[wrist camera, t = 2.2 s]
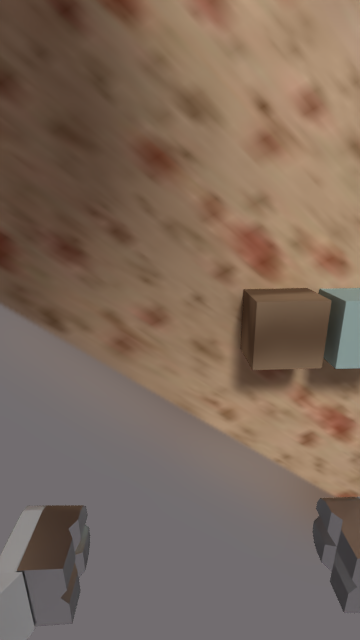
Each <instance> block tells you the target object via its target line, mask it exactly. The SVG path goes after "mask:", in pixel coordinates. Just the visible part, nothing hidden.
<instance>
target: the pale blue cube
mask: <svg viewBox="0 0 360 640" xmlns="http://www.w3.org/2000/svg"><path fill="white" fill-rule="evenodd" d="M319 294H320V295H322V296H324V297H326V298H328V299H330V300H332V301H331V308H330V315H329V322H328V329H327V336H326V343H325V350H324V357H323V358H324V359H325V360H326V361H327V362H328V363H330V364H331V365H332V366H333V367H334V368H335V369H349V368H360V288H339V289H320V290H319Z"/></svg>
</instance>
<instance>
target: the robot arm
mask: <svg viewBox="0 0 360 640" xmlns="http://www.w3.org/2000/svg"><path fill="white" fill-rule="evenodd" d="M316 509H317V511H318V513H319V515H320V516H319V517H318V518H317V519H316V520H315V521H314V524H313V537H314V543H315V546H316V550H317V553H318V555H319V557H320V560H321V562H322V563H323V564H324V565H325V566H326V567H327V568H328V569H330V570H331V571H332V573H331V578H330V582H331V585H332V587H333V589H334V592H335V594H336V596H337V598H338V601H339V603H340V605H341V607H342V609H343V612H344V613H360V497H336V498H320V499H319V501H318V502H317V508H316ZM86 519H87V509H86V506H27V507H26V508H25V509H24V510H23V512H22V513H21V515H20V517H19V519H18V521H17V523H16V525H15V527H14V529H13V531H12V533H11V535H10V537H9V539H8V541H7V543H6V545H5V547H4V549H3V551H2V553H1V555H0V640H27V639H28V638H29V637H30V635H31V634H32V633H33V631H34V630H35V626H46V625H59V624H72V623H73V619H74V614H75V610H76V606H77V602H78V598H79V594H80V585H79V577H80V576H81V575H82V573H83V572H84V571H85V569H86V565H87V560H88V554H89V546H90V533H89V527H87V526H86V525H85V523H86Z"/></svg>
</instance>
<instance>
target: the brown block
mask: <svg viewBox="0 0 360 640" xmlns="http://www.w3.org/2000/svg"><path fill="white" fill-rule="evenodd" d="M331 301H332V300H330V299H328V298H326V297H324V296H322V295H320V294H318V293H316V292H314V291H312V290H310V289H308V288H291V289H244V294H243V313H242V332H241V350H242V352H243V354H244V356H245V357H246V359H247V361H248V363H249V365H250V366H251V368H252V370H276V369H313V368H322V364H323V357H324V350H325V343H326V336H327V329H328V322H329V315H330V308H331Z"/></svg>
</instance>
